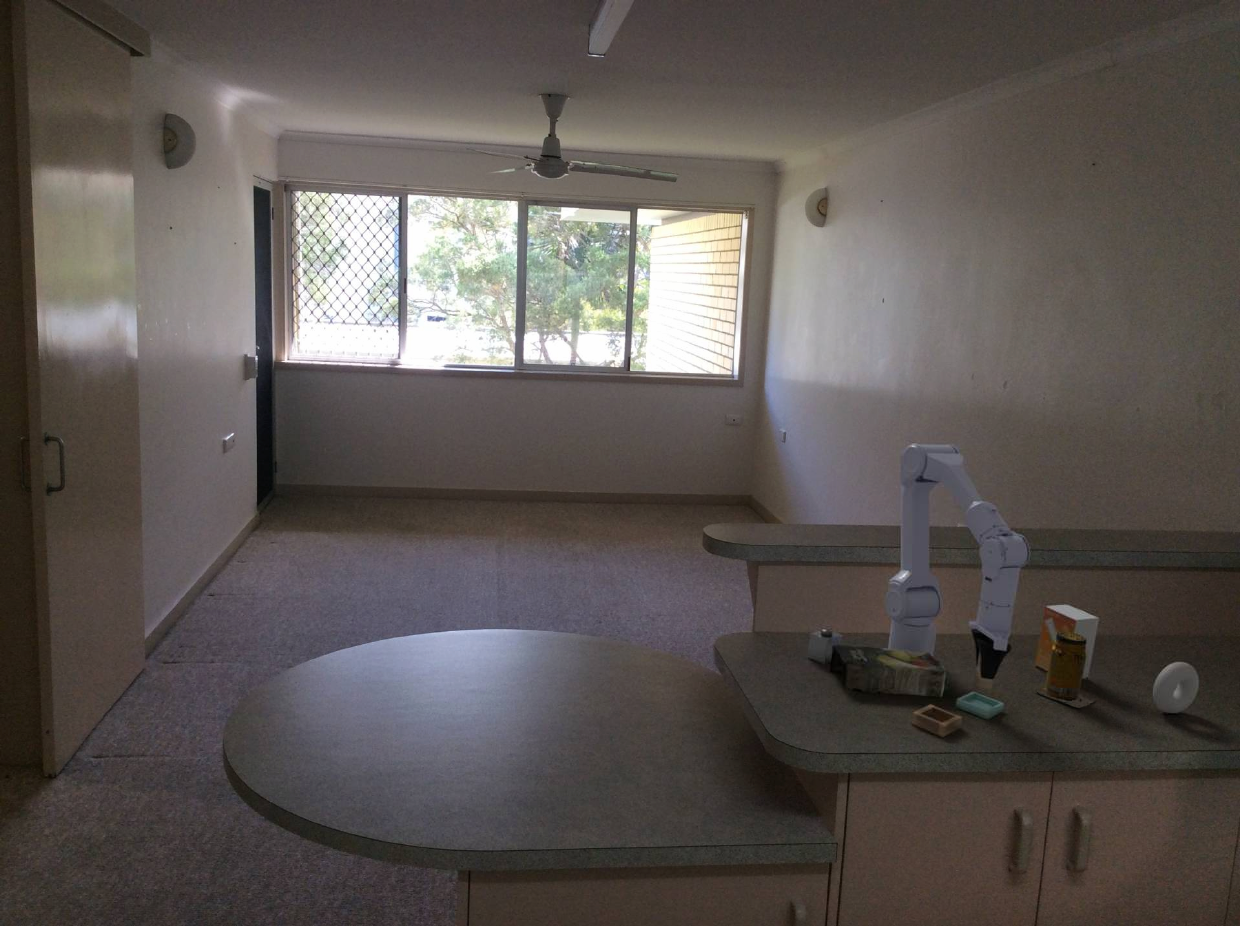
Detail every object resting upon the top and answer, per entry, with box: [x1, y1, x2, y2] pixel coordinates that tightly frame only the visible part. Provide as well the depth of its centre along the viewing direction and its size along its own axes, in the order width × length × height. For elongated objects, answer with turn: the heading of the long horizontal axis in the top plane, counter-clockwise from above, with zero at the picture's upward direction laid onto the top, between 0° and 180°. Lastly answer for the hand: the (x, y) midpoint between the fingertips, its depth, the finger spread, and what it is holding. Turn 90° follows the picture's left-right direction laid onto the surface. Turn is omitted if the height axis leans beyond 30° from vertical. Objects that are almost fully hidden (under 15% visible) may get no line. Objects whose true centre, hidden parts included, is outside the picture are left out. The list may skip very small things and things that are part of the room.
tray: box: [955, 691, 1005, 720], centre depth 180 cm, size 6×6×2 cm
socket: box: [910, 704, 963, 738], centre depth 171 cm, size 6×6×2 cm
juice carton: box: [829, 644, 948, 698], centre depth 188 cm, size 20×10×6 cm, turn 93°
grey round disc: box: [1152, 661, 1200, 714], centre depth 185 cm, size 10×4×10 cm, turn 115°
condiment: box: [1044, 632, 1087, 701], centre depth 187 cm, size 7×8×12 cm
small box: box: [1034, 604, 1100, 678], centre depth 200 cm, size 8×6×13 cm
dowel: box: [973, 653, 995, 692], centre depth 178 cm, size 3×3×8 cm
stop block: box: [806, 627, 843, 665], centre depth 197 cm, size 5×4×6 cm
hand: (985, 674), depth 179 cm, fingers closed on dowel, 3 cm apart
